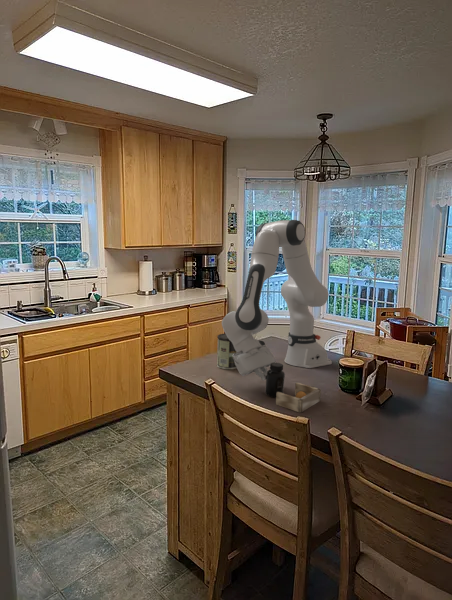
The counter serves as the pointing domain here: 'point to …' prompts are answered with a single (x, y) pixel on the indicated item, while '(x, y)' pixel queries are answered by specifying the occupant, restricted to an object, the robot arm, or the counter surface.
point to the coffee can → (225, 353)
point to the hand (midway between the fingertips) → (266, 379)
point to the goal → (299, 403)
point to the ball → (300, 394)
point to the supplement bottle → (275, 379)
